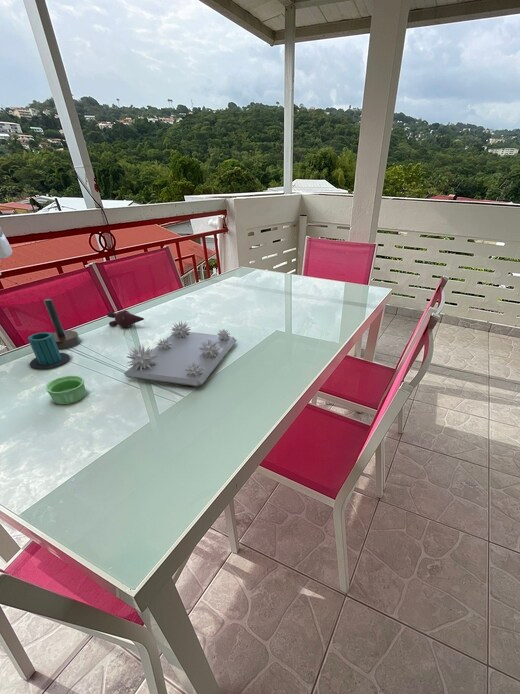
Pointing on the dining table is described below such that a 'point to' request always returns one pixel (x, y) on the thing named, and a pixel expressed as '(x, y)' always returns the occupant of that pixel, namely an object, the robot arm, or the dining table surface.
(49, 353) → the teal ribbed hollow cylinder
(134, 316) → the icecream
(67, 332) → the holder
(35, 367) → the coaster
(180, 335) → the decorative tray
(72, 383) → the ramekin
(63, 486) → the dining table surface
